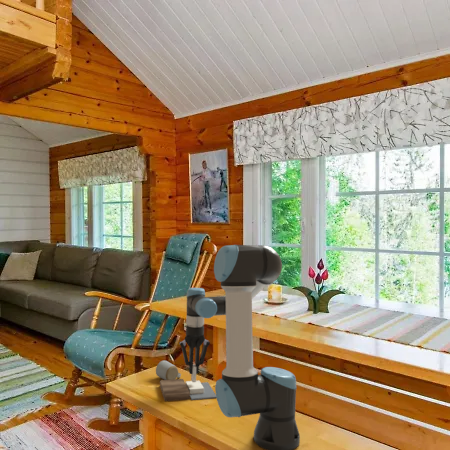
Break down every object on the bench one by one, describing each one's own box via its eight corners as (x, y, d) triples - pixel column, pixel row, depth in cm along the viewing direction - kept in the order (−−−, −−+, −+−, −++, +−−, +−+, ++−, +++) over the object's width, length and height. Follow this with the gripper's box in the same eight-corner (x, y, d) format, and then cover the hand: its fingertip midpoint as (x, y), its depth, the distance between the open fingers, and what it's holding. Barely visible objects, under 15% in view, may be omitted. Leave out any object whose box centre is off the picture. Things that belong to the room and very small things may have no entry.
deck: (189, 399, 178) (189, 393, 178) (164, 401, 176) (165, 395, 176) (182, 384, 194) (182, 378, 194) (159, 386, 191) (159, 380, 191)
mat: (216, 398, 180) (216, 396, 180) (191, 400, 177) (191, 398, 177) (207, 383, 196) (207, 382, 196) (184, 385, 193) (184, 383, 193)
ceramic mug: (166, 384, 194) (166, 366, 194) (155, 378, 199) (155, 361, 199) (184, 378, 201) (185, 361, 201) (173, 373, 207) (174, 357, 207)
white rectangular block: (204, 393, 183) (204, 388, 183) (189, 394, 182) (189, 389, 182) (199, 384, 192) (199, 380, 192) (185, 386, 190) (185, 381, 190)
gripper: (208, 322, 192) (206, 377, 192) (178, 323, 188) (176, 379, 188) (212, 326, 184) (210, 383, 185) (181, 327, 181) (179, 385, 181)
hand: (193, 381), depth 186 cm, fingers closed
